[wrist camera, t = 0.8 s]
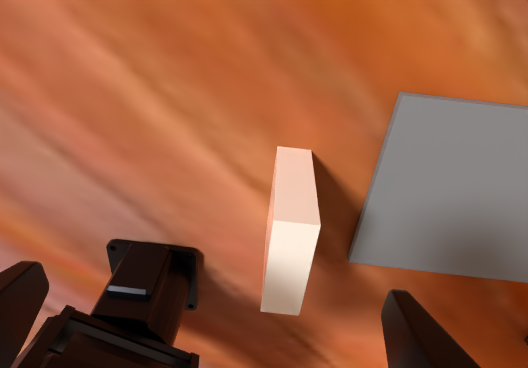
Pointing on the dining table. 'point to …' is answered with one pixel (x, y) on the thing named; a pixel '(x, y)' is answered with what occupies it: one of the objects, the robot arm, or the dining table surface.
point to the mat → (449, 190)
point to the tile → (290, 232)
